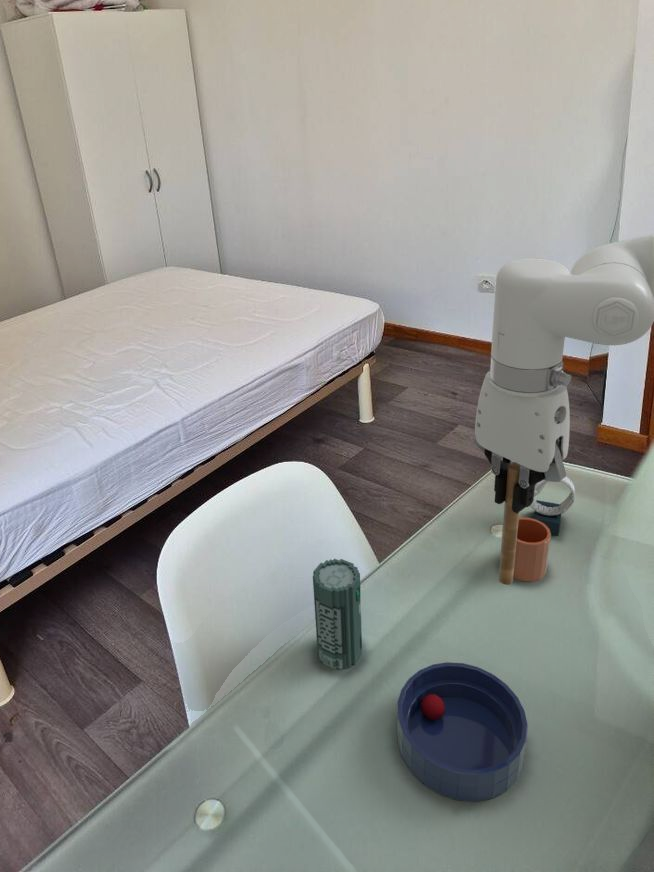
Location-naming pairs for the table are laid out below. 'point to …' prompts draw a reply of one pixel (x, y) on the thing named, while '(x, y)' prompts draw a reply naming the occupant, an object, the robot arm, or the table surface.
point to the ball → (432, 707)
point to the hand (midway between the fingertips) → (512, 502)
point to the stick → (509, 528)
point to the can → (338, 613)
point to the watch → (552, 507)
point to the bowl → (462, 732)
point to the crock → (531, 550)
